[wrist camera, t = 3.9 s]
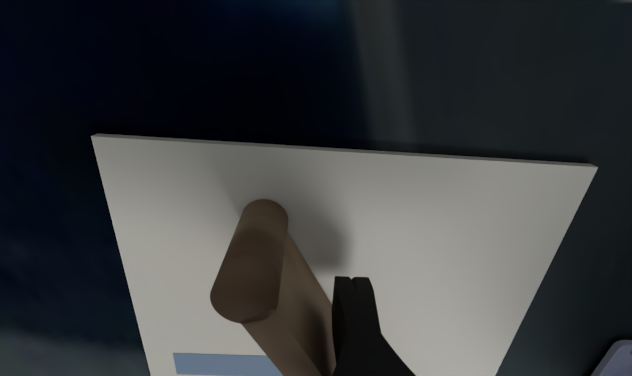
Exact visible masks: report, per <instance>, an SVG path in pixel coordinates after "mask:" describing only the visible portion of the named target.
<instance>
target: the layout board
mask: <svg viewBox="0 0 632 376" xmlns="http://www.w3.org/2000/svg"><path fill="white" fill-rule="evenodd" d="M91 139H92V143H93V147H94V151H95V155H96V159H97V163H98V167H99V171H100V175H101V179H102V183H103V187H104V191H105V195H106V199H107V203H108V207H109V211H110V215H111V219H112V223H113V227H114V231H115V235H116V239H117V242H118V246H119V250H120V254H121V258H122V262H123V266H124V270H125V274H126V278H127V282H128V286H129V290H130V294H131V298H132V302H133V306H134V310H135V314H136V318H137V322H138V326H139V330H140V334H141V338H142V342H143V346H144V350H145V354H146V358H147V362H148V366H149V370H150V374H151V376H283V375H282V374H281V372H280V371H279V370H278V369H277V367H276V366H275V365H274V364H273V363H272V361H271V360H270V359H269V358H268V356H267V355H266V354H265V353H264V351H263V350H262V349H261V348H260V347H259V345H258V344H257V343H256V342H255V340H254V339H253V338H252V337H251V335H250V334H249V333H248V332H247V331H246V329H245V328H244V327H243V326H242V324H240V323H235V322H232V321H229V320H227V319H225V318H224V317H222V316H221V315H219V314H218V313H217V312H216V311H215V309H214V308H213V306H212V304H211V301H210V292H211V289H212V287H213V284H214V282H215V279H216V277H217V274H218V272H219V269H220V267H221V264H222V262H223V259H224V257H225V254H226V252H227V249H228V247H229V244H230V242H231V239H232V237H233V234H234V232H235V229H236V227H237V224H238V222H239V220H240V217H241V215H242V212H243V210H244V208H245V207H246V206H247V205H248V204H249V203H251V202H253V201H255V200H260V199H267V200H272V201H274V202H276V203H278V204H280V205H281V206H282V207H283V208H284V209H285V211H286V213H287V215H288V229H287V231H288V233H289V235H290V236H291V238H292V240H293V241H294V243H295V245H296V246H297V248H298V250H299V251H300V253H301V255H302V256H303V258H304V259H305V261H306V263H307V264H308V266H309V268H310V269H311V271H312V273H313V274H314V276H315V278H316V279H317V281H318V283H319V284H320V286H321V287H322V289H323V291H324V292H325V294H326V296H327V297H328V299H329V301H330V302H331V304H332V300H333V289H334V279H335V276H346V277H350V278H351V280H352V278H354V277H369V279H370V282H371V284H372V287H373V290H374V295H375V300H376V306H377V312H378V318H379V324H380V329H381V333H382V335H383V336H384V338H385V339H386V340H387V342H388V343H389V345H390V346H391V347H392V348H393V350H394V351H395V352H396V353H397V355H398V356H399V357H400V358H401V359H402V361H403V362H404V363H405V364H406V365H407V366H408V368H409V369H410V370H411V371H412V372H413V373H414V374H415V375H416V376H495V375H496V373H497V371H498V369H499V367H500V365H501V362H502V360H503V358H504V356H505V354H506V352H507V350H508V348H509V346H510V344H511V342H512V340H513V338H514V336H515V334H516V332H517V330H518V328H519V326H520V324H521V322H522V320H523V318H524V316H525V314H526V312H527V310H528V308H529V306H530V304H531V302H532V300H533V298H534V296H535V294H536V292H537V290H538V288H539V286H540V284H541V282H542V280H543V278H544V276H545V274H546V272H547V270H548V268H549V266H550V264H551V262H552V260H553V258H554V256H555V253H556V251H557V249H558V247H559V245H560V243H561V241H562V239H563V237H564V235H565V233H566V231H567V229H568V227H569V225H570V223H571V221H572V219H573V217H574V215H575V213H576V211H577V209H578V207H579V205H580V203H581V201H582V199H583V197H584V195H585V193H586V191H587V189H588V187H589V185H590V183H591V181H592V179H593V177H594V175H595V173H596V171H597V169H598V167H596V166H594V165H592V164H585V163H569V162H553V161H537V160H521V159H504V158H488V157H472V156H456V155H439V154H423V153H407V152H391V151H374V150H358V149H342V148H326V147H309V146H293V145H277V144H261V143H244V142H228V141H212V140H196V139H179V138H163V137H147V136H131V135H114V134H98V133H97V134H95V135H93V136H91Z"/></svg>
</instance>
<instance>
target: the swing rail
mask: <svg viewBox="0 0 632 376" xmlns="http://www.w3.org/2000/svg"><path fill="white" fill-rule="evenodd" d="M287 229H288V215H287V213H286V211H285V209H284V208H283V207H282V206H281V205H280V204H278V203H276V202H274V201H272V200H267V199H260V200H255V201H253V202H251V203H249V204H248V205H247V206H246V207H245V208H244V210H243V212H242V215H241V217H240V220H239V222H238V224H237V227H236V229H235V232H234V234H233V237H232V239H231V242H230V244H229V247H228V249H227V252H226V254H225V257H224V259H223V262H222V264H221V267H220V269H219V272H218V274H217V277H216V279H215V282H214V284H213V287H212V289H211V292H210V301H211V304H212V306H213V308H214V309H215V311H216V312H217V313H218V314H219V315H221V316H222V317H224V318H225V319H227V320H229V321H232V322H235V323H240V324H242V326H243V327H244V328H245V329H246V331H247V332H248V333H249V334H250V335H251V337H252V338H253V339H254V340H255V342H256V343H257V344H258V345H259V347H260V348H261V349H262V350H263V351H264V353H265V354H266V355H267V356H268V358H269V359H270V360H271V361H272V363H273V364H274V365H275V366H276V367H277V369H278V370H279V371H280V372H281V374H282V375H283V376H332V375H333V372H334V370H335V367H336V360H335V352H334V345H333V337H332V314H331V310H332V304H331V302H330V301H329V299H328V297H327V296H326V294H325V292H324V291H323V289H322V287H321V286H320V284H319V283H318V281H317V279H316V278H315V276H314V274H313V273H312V271H311V269H310V268H309V266H308V264H307V263H306V261H305V259H304V258H303V256H302V255H301V253H300V251H299V250H298V248H297V246H296V245H295V243H294V241H293V240H292V238H291V236H290V235H289V233H288V231H287Z"/></svg>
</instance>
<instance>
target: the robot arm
mask: <svg viewBox="0 0 632 376" xmlns="http://www.w3.org/2000/svg"><path fill="white" fill-rule="evenodd" d="M331 314H332V337H333V345H334V352H335V360H336V367H335V370H334V372H333V375H332V376H416V375H415V374H414V373H413V372H412V371H411V370H410V369H409V368H408V366H407V365H406V364H405V363H404V362H403V361H402V359H401V358H400V357H399V356H398V355H397V353H396V352H395V351H394V350H393V348H392V347H391V346H390V345H389V343H388V342H387V340H386V339H385V338H384V336H383V335H382V333H381V329H380V324H379V318H378V312H377V306H376V300H375V295H374V290H373V287H372V284H371V282H370V279H369V277H354V278H352V280H351V278H350V277H346V276H335V279H334V289H333V300H332V310H331ZM591 376H632V340H619V341H617V342H615V343H614V344H613V345H612V346H611V347H610V349H609V350H608V352H607V353H606V355H605V356H604V357H603V359H602V360H601V362H600V363H599V364H598V366H597V367H596V369H595V370H594V372H593V373H592V374H591Z"/></svg>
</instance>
